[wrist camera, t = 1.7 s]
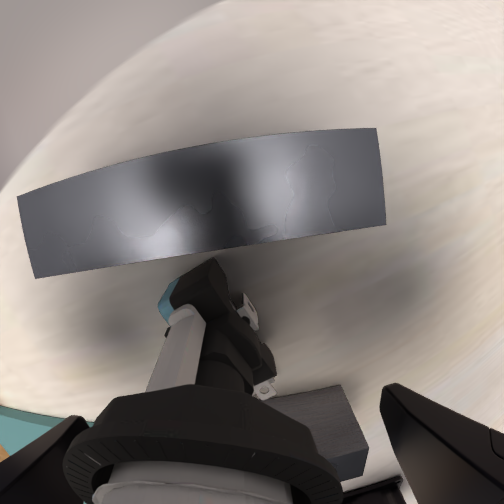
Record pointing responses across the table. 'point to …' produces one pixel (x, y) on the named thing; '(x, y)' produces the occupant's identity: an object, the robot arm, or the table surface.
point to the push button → (202, 418)
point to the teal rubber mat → (23, 428)
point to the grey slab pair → (220, 226)
